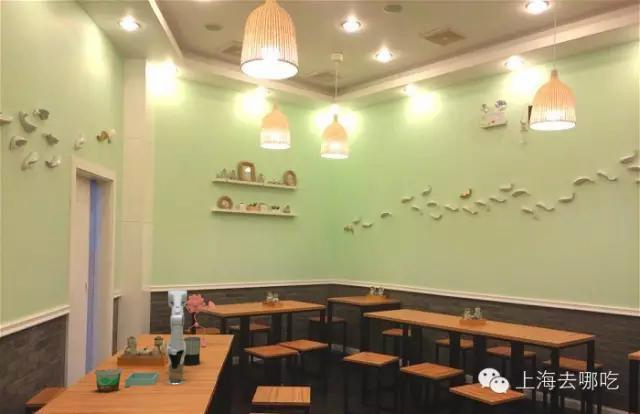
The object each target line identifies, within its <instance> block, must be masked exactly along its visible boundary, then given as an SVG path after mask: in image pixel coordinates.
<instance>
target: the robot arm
mask: <svg viewBox="0 0 640 414" xmlns="http://www.w3.org/2000/svg"><path fill="white" fill-rule="evenodd" d="M187 299H188V291H187V289H185V290H184V289H177V290H175V289H173V290H172V289H171V290H170V289H168V292H167V301H168V303H167V304H168V307H170V308H171V315H170V324H169V325H170V330H171V331H170V340H168V341H167V343H166V357H167V358H168V367H169V366H170V364H172V369H177V367H178V364H184V357H185V355H186V342H185V341H184V340H183V337H184V335H183V334H184V325H185V313H184V307H185V306H186V307H187V304H186V302H187V301H188V300H187ZM186 307H185V308H186ZM167 373H168V375H169V370H168V371H167ZM183 373H185V371H184V370H183Z"/></svg>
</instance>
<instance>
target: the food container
mask: <svg viewBox="0 0 640 414" xmlns="http://www.w3.org/2000/svg"><path fill="white" fill-rule="evenodd" d="M122 373H123V369H122V367H120V368H118V369H113V368H109V369H103V370H102V369H100V370H99V369H95V370H94V375H95V377H96V389H97V390H96V391H97V392H99V393H113V392H117V391H118V390H119V389H120V381H121V375H122Z"/></svg>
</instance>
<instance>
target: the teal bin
mask: <svg viewBox="0 0 640 414" xmlns="http://www.w3.org/2000/svg"><path fill="white" fill-rule="evenodd" d="M159 374H160V373H159V372H156V371H155V372H131V373H130V374H129V375H128V376H127V377H126V378H125V387H124V388H130V387H131V386H154V385H155V384H156V383H157V382H158V380H159V378H160V377H159Z"/></svg>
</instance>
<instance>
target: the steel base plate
mask: <svg viewBox="0 0 640 414" xmlns="http://www.w3.org/2000/svg"><path fill="white" fill-rule="evenodd" d="M186 382H187V380H186V379H183V378H182V379H181V382H178V383H172V382H171V380H169V379H168V380H165V382H164V383H165V384H166V385H167V384H168V385H181V384H184V383H186Z"/></svg>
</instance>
